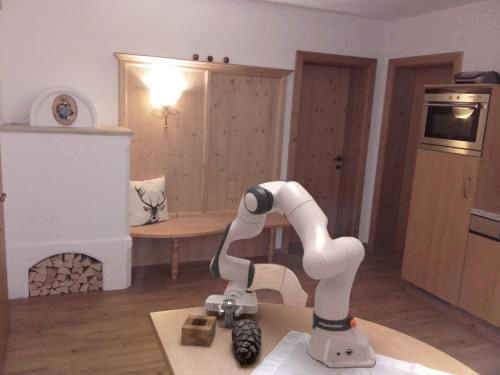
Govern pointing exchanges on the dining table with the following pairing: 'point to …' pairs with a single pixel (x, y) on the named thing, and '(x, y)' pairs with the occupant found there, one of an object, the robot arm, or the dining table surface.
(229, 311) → the pin
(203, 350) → the dining table surface
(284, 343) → the dining table surface
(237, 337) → the pine cone
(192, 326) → the socket block
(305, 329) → the dining table surface
